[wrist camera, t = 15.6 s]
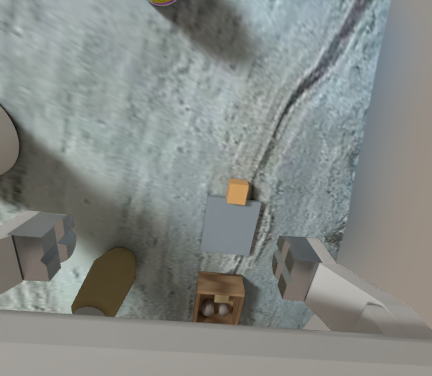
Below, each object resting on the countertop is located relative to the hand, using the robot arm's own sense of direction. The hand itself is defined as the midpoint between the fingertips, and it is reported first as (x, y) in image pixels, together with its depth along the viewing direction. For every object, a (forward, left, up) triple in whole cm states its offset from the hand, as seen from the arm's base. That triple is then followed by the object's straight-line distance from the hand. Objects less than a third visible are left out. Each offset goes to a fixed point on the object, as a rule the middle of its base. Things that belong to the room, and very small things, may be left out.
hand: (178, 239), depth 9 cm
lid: (+7, -15, -29) cm, 34 cm away
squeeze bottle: (-13, -27, -29) cm, 42 cm away
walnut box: (+7, -34, -29) cm, 45 cm away
